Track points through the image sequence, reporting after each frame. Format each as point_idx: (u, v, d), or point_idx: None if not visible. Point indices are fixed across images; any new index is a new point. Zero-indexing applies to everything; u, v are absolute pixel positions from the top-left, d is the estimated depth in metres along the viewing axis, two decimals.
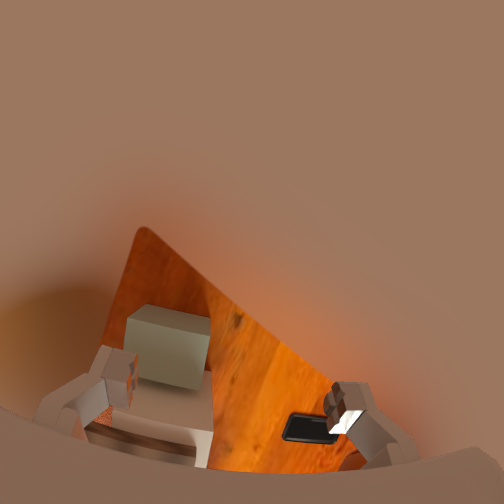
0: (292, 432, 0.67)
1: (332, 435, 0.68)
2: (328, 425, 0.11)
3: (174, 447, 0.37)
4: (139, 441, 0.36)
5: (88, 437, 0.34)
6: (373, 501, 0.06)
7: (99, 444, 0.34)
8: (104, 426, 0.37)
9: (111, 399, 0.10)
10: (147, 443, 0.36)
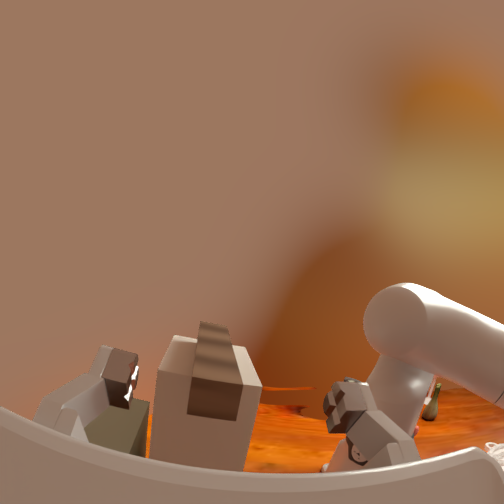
0: None
1: None
2: (328, 425, 0.11)
3: None
4: None
5: (209, 357, 0.25)
6: (373, 501, 0.06)
7: (217, 353, 0.27)
8: None
9: (111, 399, 0.10)
10: None
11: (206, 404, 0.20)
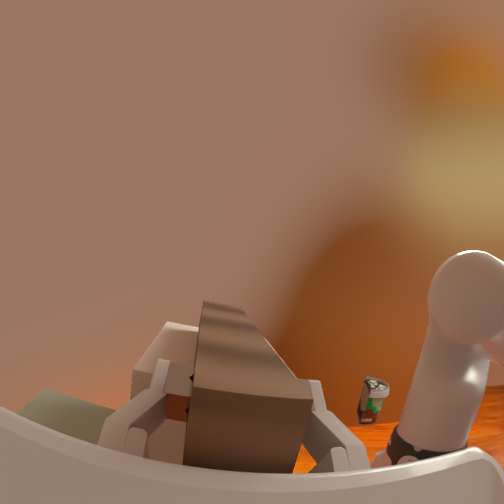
0: None
1: None
2: None
3: None
4: None
5: (225, 345, 0.13)
6: (373, 501, 0.06)
7: (236, 339, 0.15)
8: None
9: (169, 413, 0.10)
10: (199, 327, 0.22)
11: (228, 447, 0.08)
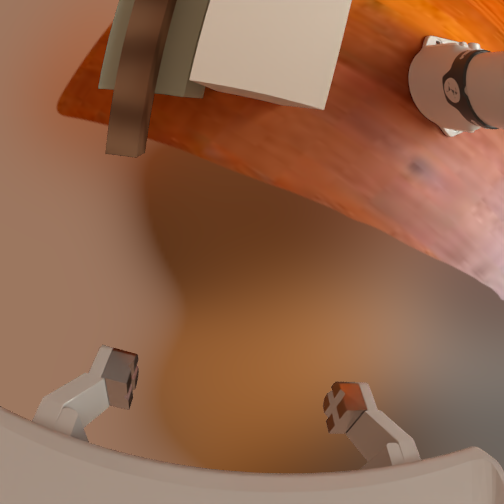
0: None
1: None
2: (328, 425, 0.11)
3: None
4: None
5: (122, 103, 0.26)
6: (373, 501, 0.06)
7: (131, 87, 0.26)
8: None
9: (111, 399, 0.10)
10: None
11: None
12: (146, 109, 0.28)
